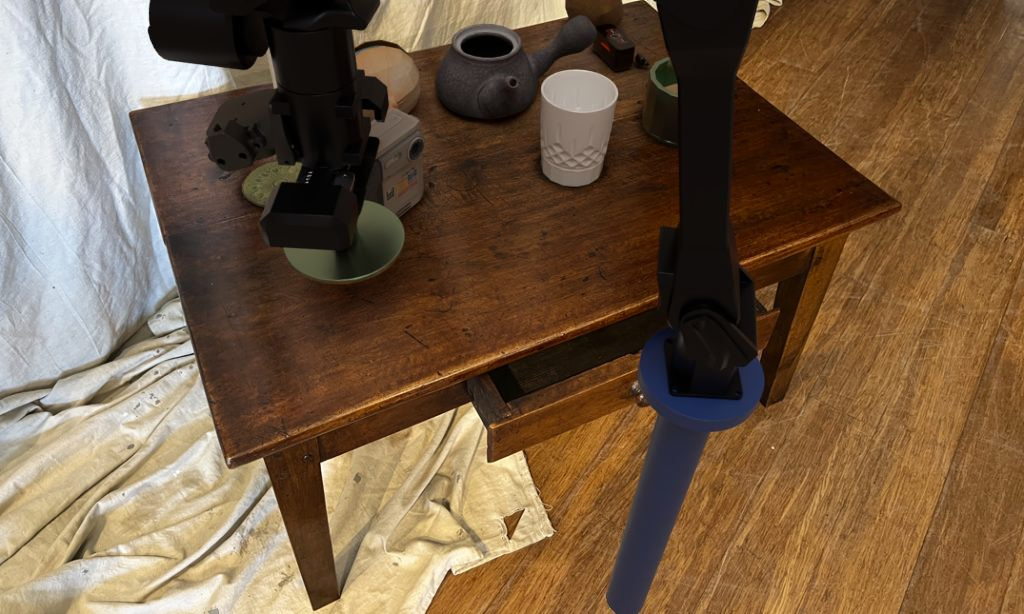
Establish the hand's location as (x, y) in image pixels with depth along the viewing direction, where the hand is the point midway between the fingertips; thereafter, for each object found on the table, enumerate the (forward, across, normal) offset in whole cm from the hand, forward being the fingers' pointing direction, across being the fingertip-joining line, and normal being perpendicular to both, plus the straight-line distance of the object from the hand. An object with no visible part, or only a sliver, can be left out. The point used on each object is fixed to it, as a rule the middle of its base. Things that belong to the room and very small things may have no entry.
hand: (344, 235), depth 68 cm
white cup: (+9, -22, +20) cm, 31 cm away
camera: (+9, -12, 0) cm, 15 cm away
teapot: (+9, -35, +13) cm, 38 cm away
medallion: (+8, -16, -11) cm, 21 cm away
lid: (+1, 0, 0) cm, 1 cm away
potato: (+4, -54, +27) cm, 61 cm away
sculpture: (+9, -29, -2) cm, 30 cm away
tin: (+8, -32, +33) cm, 46 cm away
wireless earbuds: (+8, -45, +26) cm, 53 cm away
